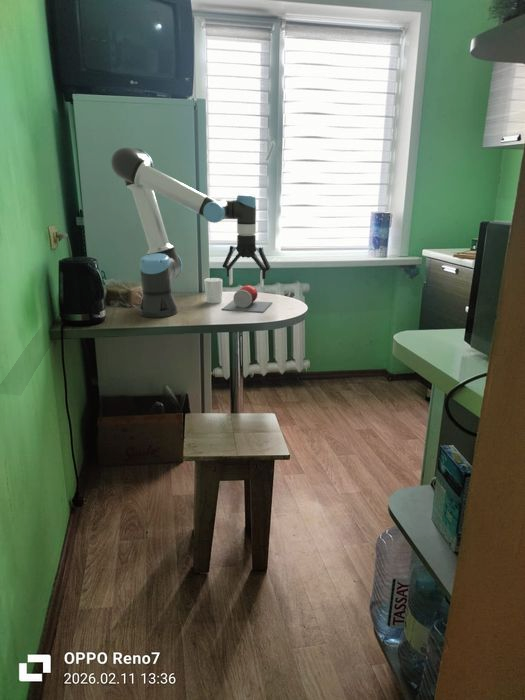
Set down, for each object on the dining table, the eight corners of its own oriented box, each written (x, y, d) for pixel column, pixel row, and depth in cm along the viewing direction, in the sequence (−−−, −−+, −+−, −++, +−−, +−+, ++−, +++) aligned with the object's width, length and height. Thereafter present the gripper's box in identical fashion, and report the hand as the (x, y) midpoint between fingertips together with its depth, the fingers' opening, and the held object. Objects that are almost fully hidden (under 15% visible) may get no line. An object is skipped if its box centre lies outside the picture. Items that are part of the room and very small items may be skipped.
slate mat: (221, 310, 207) (221, 308, 207) (233, 301, 222) (233, 300, 222) (263, 312, 203) (263, 311, 203) (272, 303, 218) (272, 302, 217)
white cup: (211, 304, 216) (210, 282, 212) (201, 301, 222) (200, 279, 218) (226, 302, 220) (225, 279, 217) (216, 298, 226) (215, 277, 223)
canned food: (238, 286, 217) (231, 292, 207) (255, 282, 215) (248, 288, 205) (243, 303, 219) (236, 309, 209) (260, 299, 217) (253, 305, 207)
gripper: (278, 234, 203) (276, 285, 210) (220, 232, 208) (221, 281, 216) (273, 236, 196) (272, 289, 203) (214, 234, 202) (215, 285, 209)
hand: (246, 285), depth 209 cm, fingers open, 13 cm apart
